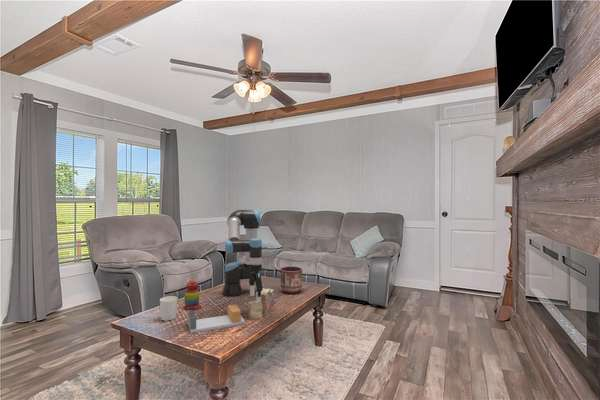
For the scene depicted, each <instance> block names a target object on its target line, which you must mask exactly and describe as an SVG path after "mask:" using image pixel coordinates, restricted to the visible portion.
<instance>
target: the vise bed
mask: <svg viewBox="0 0 600 400" xmlns="http://www.w3.org/2000/svg"><path fill="white" fill-rule="evenodd" d="M187 319H188V321H187V322H188V323H187V325H188V329H189V332H190V334H194V333H193V332H195V333H201V332H206V331H211V330H213V331H214V330H218V329H223V328H228V327H230V328H231V327H236V326H241V325H246V320H245V319H244V317H243V315H241V321H240V322H234V323H232V322H231V320H230V318H229V317H228V314H224V315H219V316H213V317H206V318H200V319H197V316H196V313H195V310H188V317H187Z"/></svg>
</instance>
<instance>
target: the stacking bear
mask: <svg viewBox="0 0 600 400" xmlns="http://www.w3.org/2000/svg"><path fill="white" fill-rule="evenodd" d="M186 288H187V289H186V290H185V293H184V298H183V300H184V309H185V310H186V311H187V310H188V311H195V310H200V309H202V305H201V304H200V303H199V301H200V292H199V290H198V288H199V283H197V281H195V280H192V279H190V280H189V281H188V282H187V285H186Z"/></svg>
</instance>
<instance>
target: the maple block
mask: <svg viewBox="0 0 600 400" xmlns="http://www.w3.org/2000/svg"><path fill="white" fill-rule="evenodd" d="M248 318H249V320H250V321H252V320H258V319H262V318H263V313H262V303H261V302H258V303H257V302H256V300H255V301H249V302H248Z"/></svg>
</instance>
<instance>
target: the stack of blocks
mask: <svg viewBox="0 0 600 400" xmlns="http://www.w3.org/2000/svg"><path fill="white" fill-rule="evenodd" d="M262 289H263V291H261V303H262V314H267V312H268V311H269V309H271V307H272V305H273V304H274V301H275V294H274V291H275V290H274V289H272V288H264V287H262Z"/></svg>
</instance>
